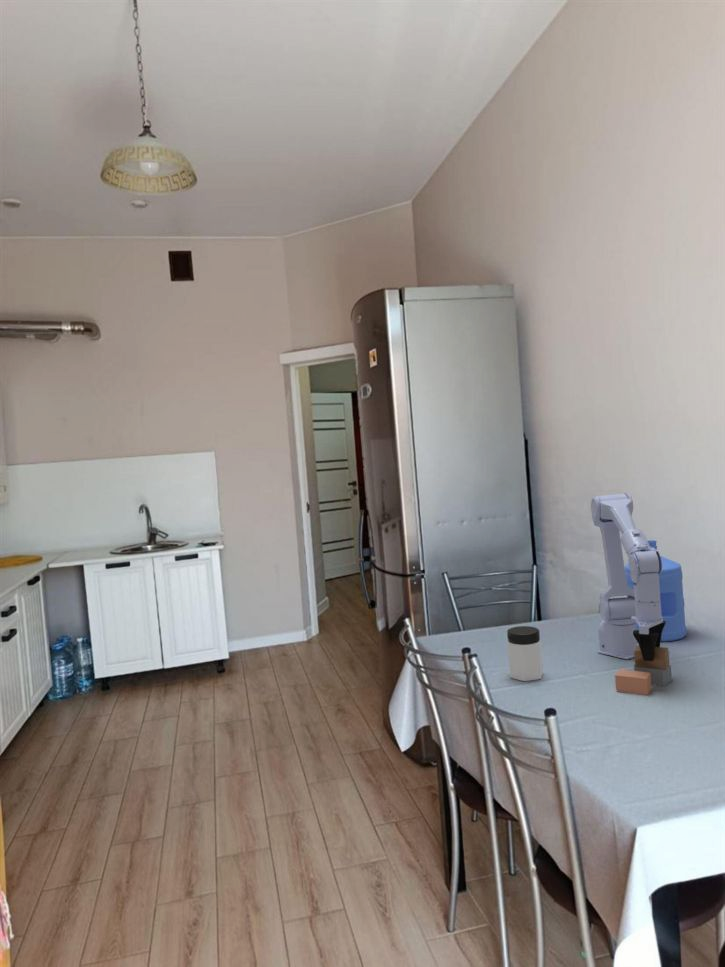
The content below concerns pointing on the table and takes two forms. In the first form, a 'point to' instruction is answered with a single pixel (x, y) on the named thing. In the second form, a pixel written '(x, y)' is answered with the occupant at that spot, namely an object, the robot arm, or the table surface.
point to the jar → (525, 653)
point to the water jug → (668, 597)
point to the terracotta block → (633, 681)
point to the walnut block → (659, 659)
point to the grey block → (658, 675)
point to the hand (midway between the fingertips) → (651, 655)
